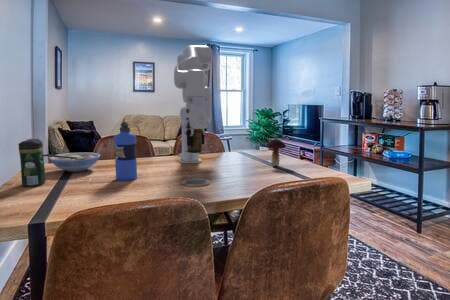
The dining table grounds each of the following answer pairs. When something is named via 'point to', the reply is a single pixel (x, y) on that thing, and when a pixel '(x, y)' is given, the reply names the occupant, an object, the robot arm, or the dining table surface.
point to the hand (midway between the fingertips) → (195, 144)
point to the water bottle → (125, 154)
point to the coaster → (195, 182)
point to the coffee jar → (32, 162)
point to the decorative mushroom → (275, 150)
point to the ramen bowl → (74, 161)
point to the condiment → (196, 142)
